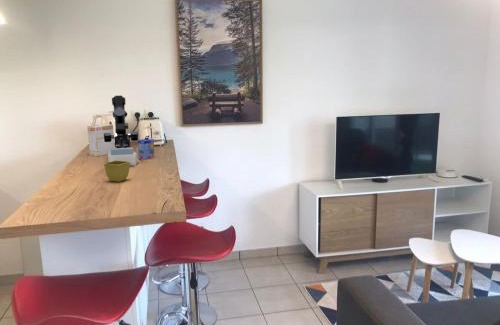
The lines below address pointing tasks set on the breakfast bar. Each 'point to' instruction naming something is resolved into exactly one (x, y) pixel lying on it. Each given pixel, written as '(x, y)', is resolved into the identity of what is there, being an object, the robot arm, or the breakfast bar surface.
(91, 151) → the coffeecake box
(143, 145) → the ink cartridge box
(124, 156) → the carton
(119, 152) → the flap
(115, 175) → the flower pot
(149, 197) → the breakfast bar surface
